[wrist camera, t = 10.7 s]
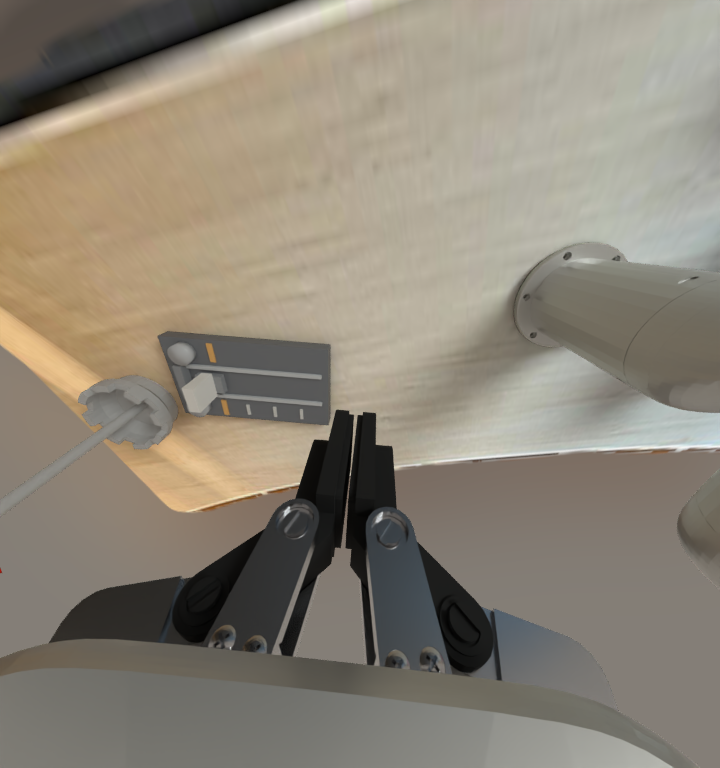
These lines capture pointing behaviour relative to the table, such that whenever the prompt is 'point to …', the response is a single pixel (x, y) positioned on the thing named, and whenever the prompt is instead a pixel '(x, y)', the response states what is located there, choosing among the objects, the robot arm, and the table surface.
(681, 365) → the robot arm
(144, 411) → the flag stand
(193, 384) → the fader tab
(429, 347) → the table surface
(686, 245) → the table surface
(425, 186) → the table surface
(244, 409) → the console
